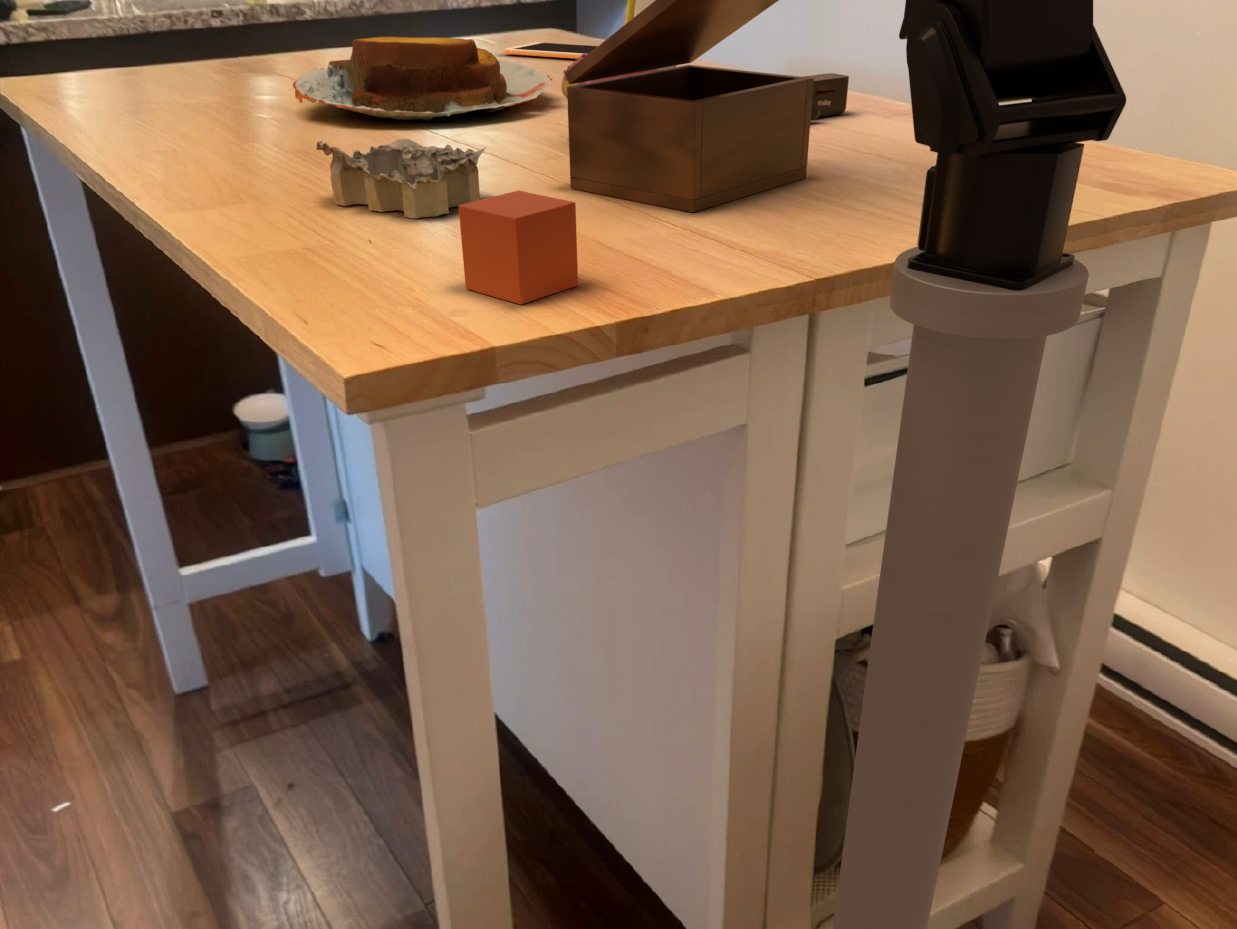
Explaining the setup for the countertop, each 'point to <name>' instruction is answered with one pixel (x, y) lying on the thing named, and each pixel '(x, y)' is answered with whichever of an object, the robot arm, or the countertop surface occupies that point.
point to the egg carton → (405, 177)
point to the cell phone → (550, 50)
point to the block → (519, 246)
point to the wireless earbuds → (829, 94)
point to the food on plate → (420, 79)
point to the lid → (666, 36)
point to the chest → (689, 135)
